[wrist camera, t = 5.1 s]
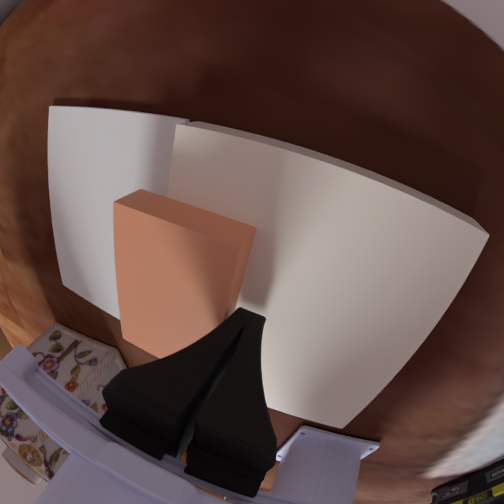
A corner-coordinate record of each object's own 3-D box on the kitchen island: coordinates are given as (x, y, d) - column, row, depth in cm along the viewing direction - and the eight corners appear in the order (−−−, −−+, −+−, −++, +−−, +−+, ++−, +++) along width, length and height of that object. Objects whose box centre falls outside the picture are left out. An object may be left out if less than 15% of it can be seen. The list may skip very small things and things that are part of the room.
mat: (168, 341, 21) (166, 344, 21) (65, 282, 23) (62, 284, 22) (189, 119, 13) (185, 119, 12) (53, 105, 15) (49, 106, 14)
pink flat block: (222, 358, 17) (209, 382, 15) (140, 319, 18) (123, 338, 16) (256, 227, 12) (240, 248, 10) (140, 188, 13) (113, 201, 11)
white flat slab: (344, 407, 19) (341, 428, 17) (174, 343, 21) (161, 361, 19) (473, 218, 10) (489, 235, 9) (198, 121, 13) (176, 123, 11)
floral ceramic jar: (154, 412, 30) (82, 519, 14) (90, 381, 33) (22, 465, 18) (119, 345, 24) (8, 478, 9) (54, 317, 28) (-39, 409, 12)
